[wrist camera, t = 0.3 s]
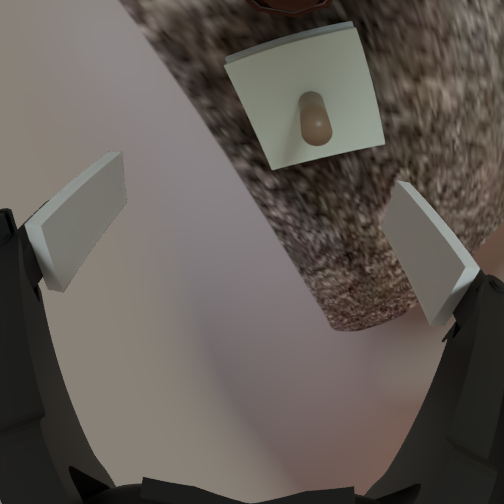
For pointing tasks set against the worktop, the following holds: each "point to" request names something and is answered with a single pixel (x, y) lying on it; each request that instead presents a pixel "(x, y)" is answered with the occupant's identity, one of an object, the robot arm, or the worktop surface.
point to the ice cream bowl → (289, 6)
